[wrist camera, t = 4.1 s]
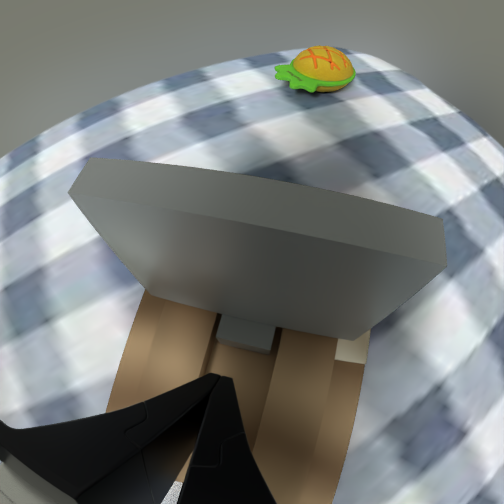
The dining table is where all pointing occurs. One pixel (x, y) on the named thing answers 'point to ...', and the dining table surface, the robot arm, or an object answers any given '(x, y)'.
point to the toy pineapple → (317, 70)
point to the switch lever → (260, 247)
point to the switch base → (256, 391)
